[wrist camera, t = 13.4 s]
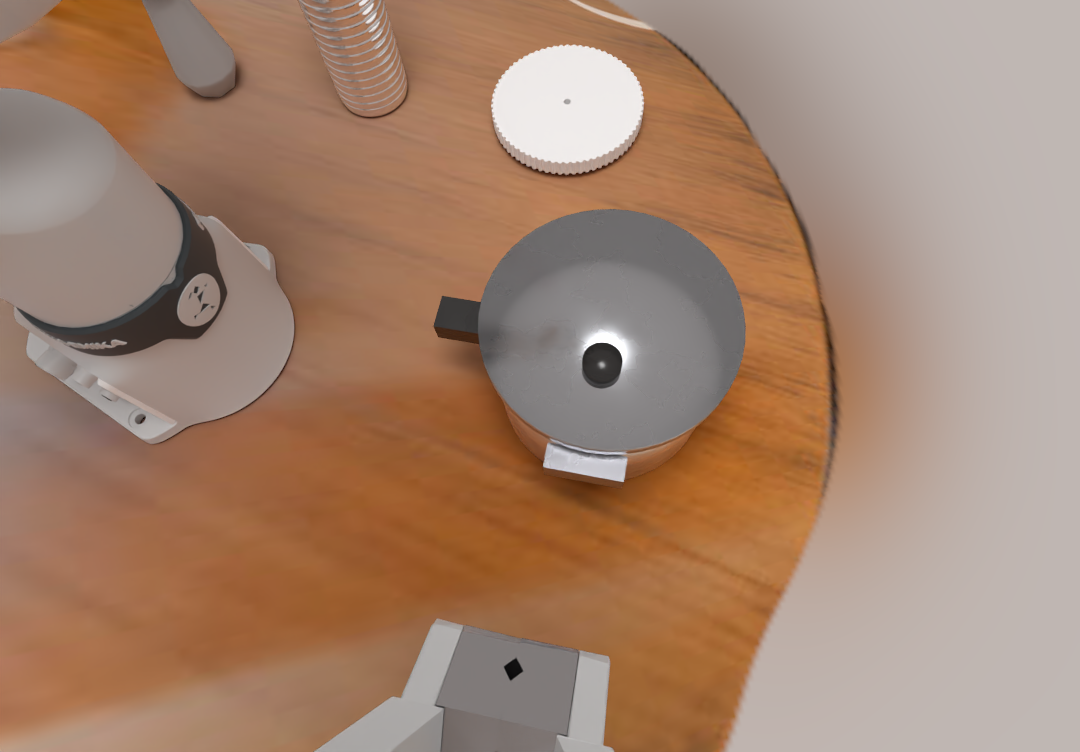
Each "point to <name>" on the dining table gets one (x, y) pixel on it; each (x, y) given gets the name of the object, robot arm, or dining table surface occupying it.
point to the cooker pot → (559, 461)
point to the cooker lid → (611, 331)
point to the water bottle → (358, 53)
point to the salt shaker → (193, 47)
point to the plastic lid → (567, 109)
